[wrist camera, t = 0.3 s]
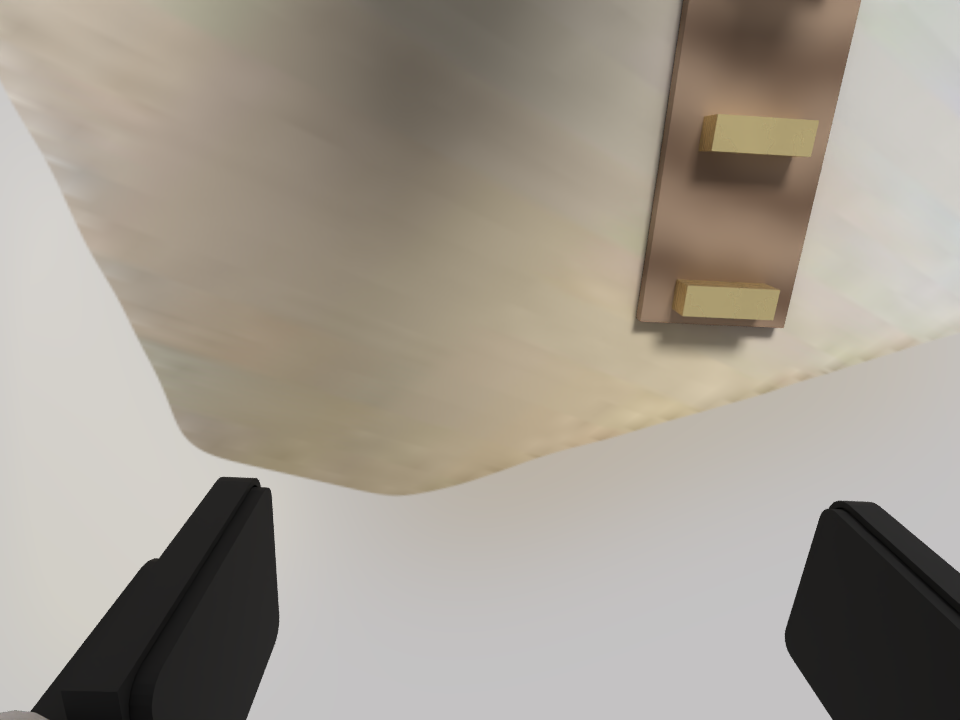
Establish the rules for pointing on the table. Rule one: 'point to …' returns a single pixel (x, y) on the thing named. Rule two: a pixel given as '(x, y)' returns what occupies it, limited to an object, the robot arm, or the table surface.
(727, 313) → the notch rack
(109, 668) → the robot arm
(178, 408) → the table surface
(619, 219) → the table surface
